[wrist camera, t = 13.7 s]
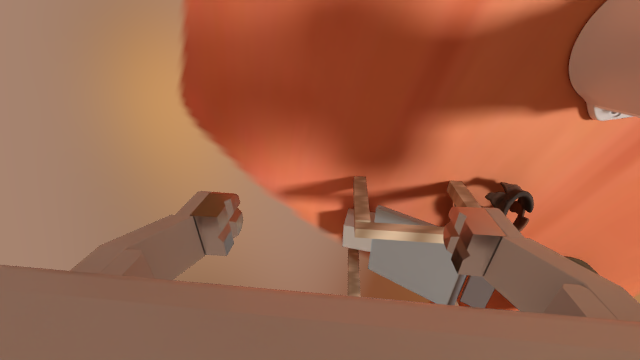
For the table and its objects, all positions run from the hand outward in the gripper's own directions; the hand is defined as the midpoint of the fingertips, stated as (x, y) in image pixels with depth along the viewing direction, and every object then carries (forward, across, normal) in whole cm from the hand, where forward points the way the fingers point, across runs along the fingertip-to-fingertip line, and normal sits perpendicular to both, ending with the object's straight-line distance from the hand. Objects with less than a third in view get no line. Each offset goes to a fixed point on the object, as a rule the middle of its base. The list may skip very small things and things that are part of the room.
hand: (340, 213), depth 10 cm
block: (+28, -6, +25) cm, 38 cm away
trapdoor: (+23, -15, +25) cm, 37 cm away
